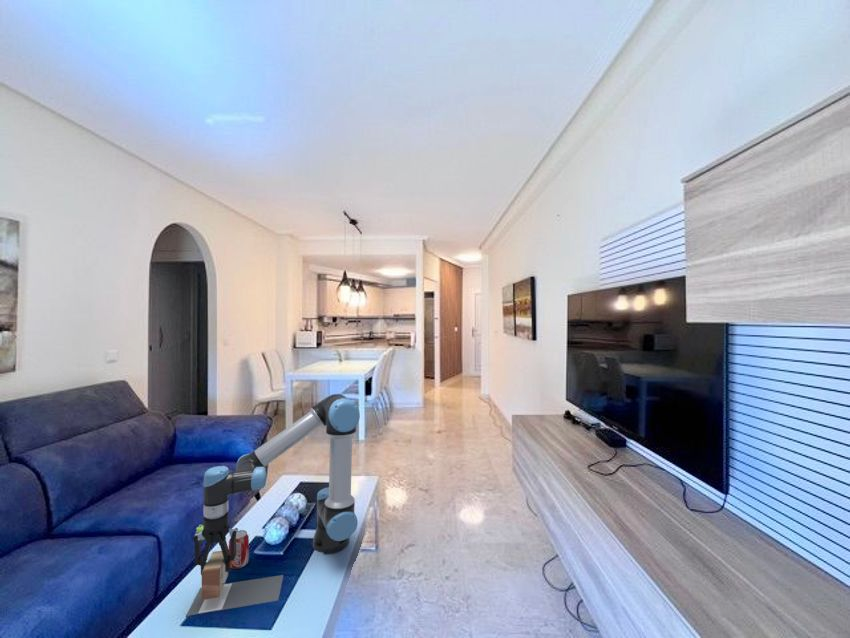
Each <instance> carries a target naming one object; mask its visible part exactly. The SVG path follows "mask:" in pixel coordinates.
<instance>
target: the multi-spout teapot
mask: <svg viewBox="0 0 850 638" xmlns="http://www.w3.org/2000/svg"><path fill="white" fill-rule="evenodd" d="M195 530H196V531H195V534H196V533H200V532H202V531H203V524H199V525H198V526H197V527H196V528H195ZM203 540H206V539H205V538H204V537H203V536H202V538H201V541H203Z"/></svg>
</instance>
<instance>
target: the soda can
mask: <svg viewBox="0 0 850 638" xmlns="http://www.w3.org/2000/svg"><path fill="white" fill-rule="evenodd" d="M249 539H250V538H249V535H248V531H247V530H245V529H244V530H243V529H240V530H238V531H237V534H236V556H235V559H234V560H233V561H232V560H231V561H230V569H234V570H235V569H241V568H243V567H245V566H246V565H247V564H248V563H249V559H250V543H249V542H250V541H249ZM230 540H231V537H230V538H229V540H228V549H229V553H230V555H231V545H230Z"/></svg>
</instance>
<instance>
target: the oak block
mask: <svg viewBox="0 0 850 638" xmlns="http://www.w3.org/2000/svg"><path fill="white" fill-rule="evenodd" d="M206 562H207V564H206V566H205V567H204V569H203V571H202V575H201V587H202V600H205V599H212V598H218V597H219V595H220V593H221V590H222V588H223V586H224V584H226V582H225V583H222V574H223V562H224V557H223V554H222V550H218V551H217V550H216V551H212V553H211V555H210V557H209V558H208V559H207V561H206ZM228 576H229V571H228V572H227V578H228Z"/></svg>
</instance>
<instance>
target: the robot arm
mask: <svg viewBox="0 0 850 638" xmlns="http://www.w3.org/2000/svg"><path fill="white" fill-rule="evenodd" d="M360 414H361V413H360V409H359V408H358V405H357V404H356V403H355V402H354V401H353V400H351V399H349V398H347V396H345V395H343V394H340V393H336V394H335V393H334V394H331V395H328V396H326V397H325V398H323V399H322V400H320V401H319V402H318V403H316V404H315V405H313V406H312V407H311V408H310V410H309V412H307V413H306V414H305V415H303V416H302V417H300V418H299V419H298V420H296V421H295V422H293V423H292V424H291V425H289V426H288V427H287V428H285V429H283V430H282V431H280V432H279V433H278V434H276V435H275V436H274V437H272V438H270V439H269V440H268V441H266V442H265V443H263V444H262V445H261V446H259V447H258V448H256V449H255V450H253V451H252V452H250V453H246V454H242V456H240V457H239V458H238V459H237V462H236V465H235V471H230V470H229V467H227V466H225V465H218V466H213V467H210V468H209V469H207V470H206V471H204V476H203V505H202V507H203V509H202V510H203V518H202V519H203V520H202V521H203V522H202V523H203V524H202V525H203V531H202V532H200V533H196V532H195V534H194V535H193V537H192V541H193V543H194V562H193V563H194V566H200V576H202V571H203V569H204V567H205V566H206V564H207V562H208V559H209V558H208V557H209V555H210V550H211V546H212V544H213V543H218V546H220V551H222V554H223V557H224V562H223V574H222V583H225V584H226V581H227V578H228V577H227V572H228V573H229V571H230V569H231V568H230V561H231V560H232V561H233V560H234V559H235V556H236V534H237V531H239V529H238V528H237V527H235V528H230V527H231V526H230V525H229V496H231V495H236V494H242V493H246V492H252V491H253V492H255V491H257V490H261V489H264V488H265V487H266V483H267V476H266V475H267V473H266V468H265V467H266V466H268V465H269V464H270V463H272V462H273V461H275V460H276V459H277V458H278V457H280V456H282V455H283V454H284V453H286V452H287V451H288V450H289V449H291V448H293V446H295V445H297V444H298V443H300V442H302V441H303V439H305V438H306V437H308V436H309V435H312V434H313V432H315V431H316V430H318V429H319V428H321V427H326V429H325V432H326V433H325V434H326V435H327V436H328V437H329V470H328V471H329V472H328V473H329V475H328V477H329V478H328V487H324V488H322V489H320V490H319V491H317V495H316V522H317V523H316V529H315V533H314V536H313V540H312V548H313V550H315V551H316V552H318V553H322V554H326V555H328V554H335V553H339V552H340V551H342V550H344V549H345V548H346V547H347V546H348V545H349V542H350V537H352V535H353V534H354V533H355V532H356V530H357V529H358V528H357V527H358V524H359V523H358V517H357V514H356V512H355V505H356V504H355V502H356V500H355V497H354V496H353V495H352V461H353V460H352V458H353V457H352V455H353V450H352V449H353V448H352V447H353V435H354V434H356V432H357V425H358V424H359V421H360V418H361V417H360V416H361V415H360ZM227 534H229V537H230V538H231V540H230V539H229V540H230V545H231V555H230V553H229V545H228V543H227V537H226V536H227ZM202 536H203V537H204V538H205V539H204V540H206V542H205V548H204V550H203V554H202V540H201V538H202Z"/></svg>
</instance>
